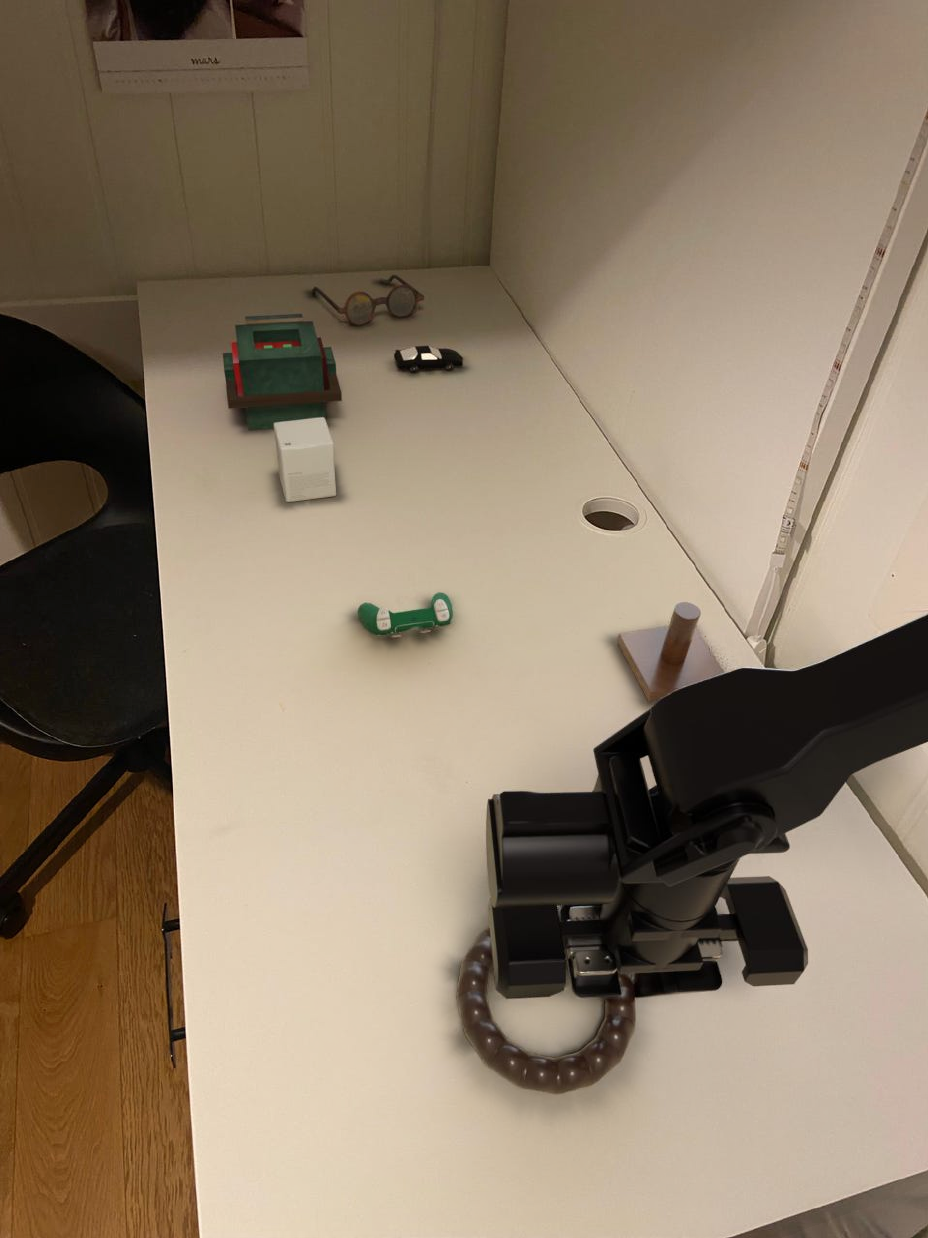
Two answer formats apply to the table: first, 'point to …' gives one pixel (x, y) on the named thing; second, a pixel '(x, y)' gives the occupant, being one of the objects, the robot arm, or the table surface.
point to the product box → (305, 459)
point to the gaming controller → (406, 617)
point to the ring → (535, 1068)
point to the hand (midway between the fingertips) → (619, 991)
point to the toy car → (427, 358)
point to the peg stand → (669, 654)
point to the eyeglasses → (377, 302)
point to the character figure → (279, 371)
